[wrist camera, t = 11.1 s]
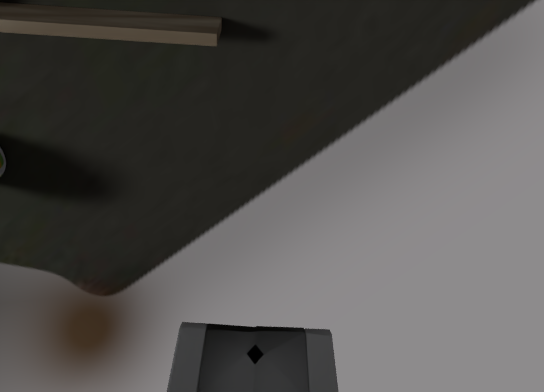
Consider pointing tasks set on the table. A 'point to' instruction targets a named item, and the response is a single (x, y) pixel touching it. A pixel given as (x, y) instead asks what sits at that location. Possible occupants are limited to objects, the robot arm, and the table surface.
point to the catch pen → (109, 24)
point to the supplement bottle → (2, 162)
